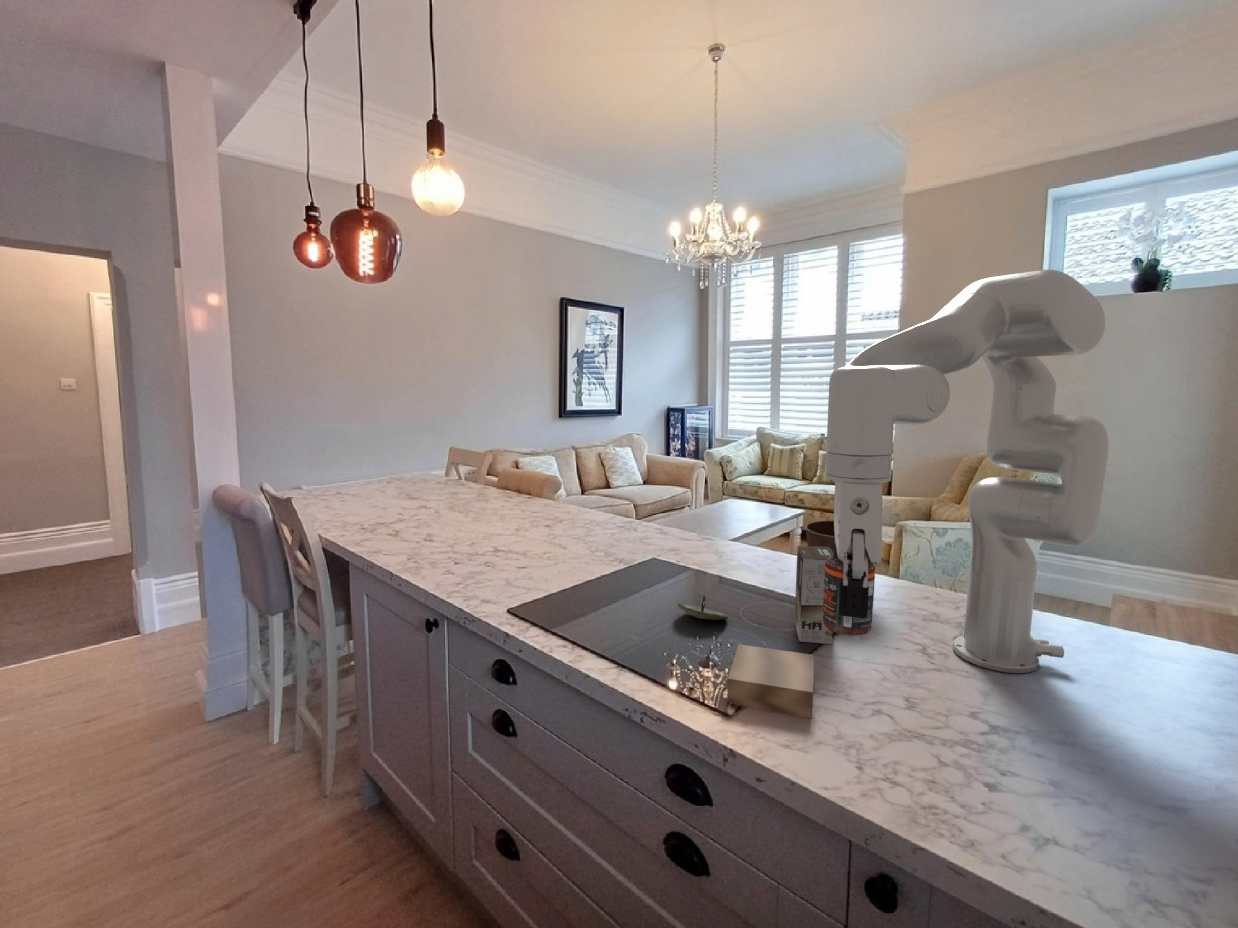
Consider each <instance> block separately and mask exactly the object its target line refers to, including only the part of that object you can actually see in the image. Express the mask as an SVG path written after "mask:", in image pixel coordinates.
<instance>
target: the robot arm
mask: <svg viewBox="0 0 1238 928" xmlns="http://www.w3.org/2000/svg"><path fill="white" fill-rule="evenodd" d="M1105 329H1106V316H1105V311H1104V308H1103V306H1102V304H1101V302H1100V301H1099V299H1097V298H1096V296H1095V295H1094V294H1092V292H1090V291H1089V290H1088V289H1087V288H1086V287H1085V286H1084V285H1082V283H1080V282H1079V281H1078V280H1077V279H1075V278H1074V277H1072V276H1071V275H1069V274H1067V273H1065V272H1063V271H1060V270H1056V269H1041V270H1035V271H1026V272H1020V273H1019V272H1018V273H1011V274H1004V275H997V276H996V275H995V276H991V277H986V278H983V279H979V280H977V281H974V282H972V283H970V285H968V286H966V287H965V288H964V289H963V290H962V291H961V292H959V293H958V294H956V295H955V297H954V298H952V299H951V300H950V301H949V302H948V303H947V304H946V305H945V306H944V307H942V309H940V310H939V311H938V312H937V313H936V314H935V315H934V316H933V317H931V318H930V319H929V320H926V321H924V322H921V323H918V324H916V325H914V326H912V327H909V328H907V329H905V330H903V331H901V332H898V333H895V334H894V335H891V336H889V337H885V338H884V339H881V340H879V341H877V342H875V343H873V344H871V345H870V346H868V347H866V348H865V349H863V350H862V351H860V352H859V353H858V354H857V355H855V356H854V357H853V358H852V359H851V360H850V361H848V362H847V363H846V364H844V366H843V367H839V368H837V369H834V370H833V372H832V373H831V375H830V377H829V383H828V402H827V403H828V404H827V405H828V406H827V426H826V427H827V428H826V453H825V454H826V456H825V475H824V477H825V479H826V480H830V481H834V497H833V499H834V502H833V503H834V505H833V521H834V532H835V542H836V549H837V556H838V559H840V560H841V561H842V562H843V583H840V599H839V614H840V615H841V616H848V617H857V618H866V617H867V612H868V593H869V586H868V555H869V557H870V560H871V562H873V563H874V565H880V564H881V562H882V546H883V545H882V542H883V541H882V539H883V534H882V533H883V485H882V484H884V483H885V484H886V483H889V482H891V481H892V480H891V479H892V463H893V462H892V460H893V444H894V427H895V426H894V425H895V424H896V425H910V426H911V425H913V426H914V425H915V426H916V425H924V424H927V423H929V422H933V421H934V420H936V419H937V418H938V417H940V416H941V415H942V414H943V413H944V411H945V410H946V408H947V406H948V404H949V402H950V398H951V388H950V385H949V381H948V379H947V378H946V376H945V375H949V374H953V373H956V372H960V371H963V370H965V369H967V368H969V367H971V366H972V365H974V364H975V363H976V362H978V360H980V359H981V358H982V360H983V361H984V363H985V365H986V367H987V368H988V369H987V370H988V371H989V373H990V376H991V379H992V380H991V381H992V385H993V387H992V389H993V390H992V400H991V409H990V415H989V423H988V431H987V439H986V455H987V458H988V460H989V462H990V463H991V464H992V465H994V466H997V467H999V468H1002V469H1008V470H1012V471H1019V472H1020V471H1021V472H1031V473H1040V474H1050V475H1057V476H1059V477H1060V480H1061V483H1055V482H1049V481H1048V482H1047V481H1040V480H1034V479H1026V478H1025V479H1024V478H1017V477H1009V476H1008V477H1007V476H1006V477H1005V476H995V477H994V476H993V477H985V478H984V479H981V480H979V481H977V482H976V483H975V484H974V485H973V486H972V488H971V489H970V492H969V494H968V500H967V508H968V516H969V523H970V524H969V525H970V539H971V541H970V557H969V567H968V568H969V570H968V581H967V582H968V583H967V593H966V602H965V603H966V606H965V615H964V617H965V618H964V626H963V627H964V630H963V635H961V636H958V637H955V639H953V641H952V649H953V651H954V652H955V654H956V655H958V656H959V657H960V658H961V659H963V660H965V661H967V662H969V663H970V664H973V665H975V666H978V667H980V668H985V669H988V670H991V671H996V672H1002V673H1008V674H1026V673H1031V672H1034V671H1037V670H1038V669H1039V665H1040V659H1039V657H1041V656H1049V657H1052V658H1053V657H1054V658H1061V659H1062V658H1064V656H1065V649H1064V647H1063V646H1062V645H1057V644H1050V642H1049V640H1047V639H1037V638H1033V637H1032V636H1031V631H1032V619H1033V609H1034V601H1035V591H1036V582H1037V580H1036V579H1037V574H1038V573H1037V571H1038V564H1037V563H1038V562H1037V559H1036V556H1035V554H1034V551H1033V550H1032V548H1031V546H1030V545H1029V543H1028V542H1027V540H1026V539H1029V540H1034V541H1038V542H1039V541H1040V542H1046V543H1050V544H1056V545H1060V546H1061V545H1063V546H1067V547H1079V546H1084V545H1086V544H1087V543H1089V542H1090V541H1091V540H1092V539H1093V537H1094V535H1095V533H1096V530H1097V527H1098V524H1099V520H1100V519H1099V517H1100V511H1101V505H1102V498H1103V491H1104V483H1105V479H1106V471H1107V465H1108V459H1109V458H1108V457H1109V437H1108V432H1107V429H1106V427H1105V425H1104V424H1103V422H1101V421H1100V420H1099V419H1097V418H1094V417H1091V416H1087V415H1076V414H1055V410H1054V409H1055V400H1056V399H1055V398H1056V391H1057V383H1056V380H1055V378H1054V375H1053V374H1052V373H1051V371H1050V370H1049V368H1048V367H1047V366H1046V365H1045V363H1044V362H1043V361H1042V360H1040V358H1038V357H1056V356H1057V357H1058V356H1076V355H1082V354H1085V353H1087V352H1089V351H1092V350H1093V349H1094V348H1095V347H1097V346H1098V344H1099V343H1100V341H1101V340H1102V338H1103V335H1104V332H1105ZM851 539H852V542H851ZM847 551H848V552H847ZM847 555H852V560H850V559H847ZM848 565H852V568H849V571H848ZM1041 658H1042V657H1041Z"/></svg>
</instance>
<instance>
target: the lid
mask: <svg viewBox="0 0 1238 928" xmlns="http://www.w3.org/2000/svg"><path fill="white" fill-rule="evenodd" d="M706 601H707V599H706V595H703V597H702V601H701V602H702V603H701V606H699V605H694V604H689V603H682V602H678V603H677V607H678V608H679V609H681V610H682V611H684V612H685V614H687V615H689V616H691V617H695V618H696V619H698V620H699V619H701V620H708V621H721V620H729V615H728V614H727V613H723V612H720V611H717V610H713V609H709V608H705V607H706V606H705V605H706V603H705V602H706Z"/></svg>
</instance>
